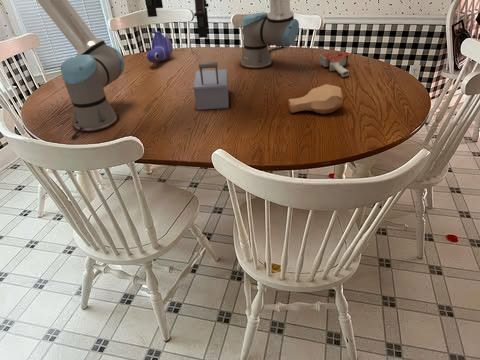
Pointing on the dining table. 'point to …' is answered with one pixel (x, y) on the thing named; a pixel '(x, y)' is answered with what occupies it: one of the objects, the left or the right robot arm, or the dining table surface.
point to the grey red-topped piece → (335, 62)
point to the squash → (319, 100)
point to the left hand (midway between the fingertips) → (156, 12)
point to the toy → (159, 48)
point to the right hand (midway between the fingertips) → (204, 32)
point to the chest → (211, 98)
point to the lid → (210, 77)
